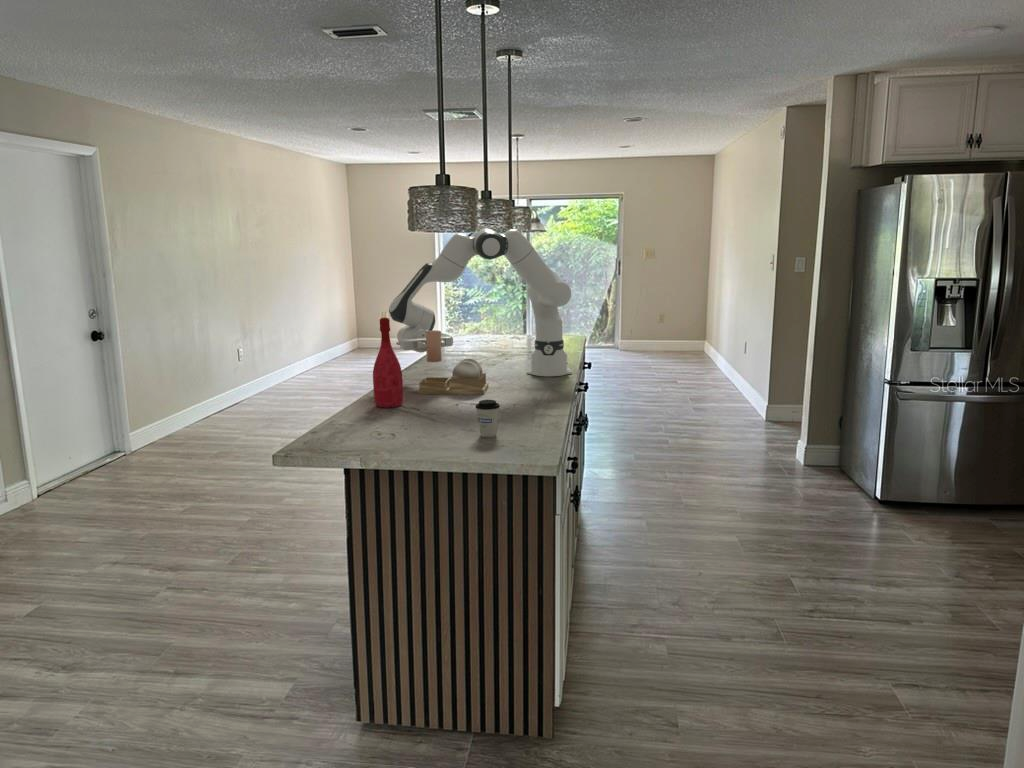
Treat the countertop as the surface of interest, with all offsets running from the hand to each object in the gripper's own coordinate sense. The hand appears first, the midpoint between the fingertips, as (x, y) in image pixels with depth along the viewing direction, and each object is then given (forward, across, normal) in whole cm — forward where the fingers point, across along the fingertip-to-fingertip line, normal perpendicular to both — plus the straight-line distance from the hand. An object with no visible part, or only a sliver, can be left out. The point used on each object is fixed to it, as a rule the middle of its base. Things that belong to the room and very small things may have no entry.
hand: (434, 345), depth 252 cm
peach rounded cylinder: (-1, 0, +6) cm, 6 cm away
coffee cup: (+64, -13, +17) cm, 68 cm away
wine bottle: (+12, -23, +18) cm, 32 cm away
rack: (+3, +6, +17) cm, 18 cm away
